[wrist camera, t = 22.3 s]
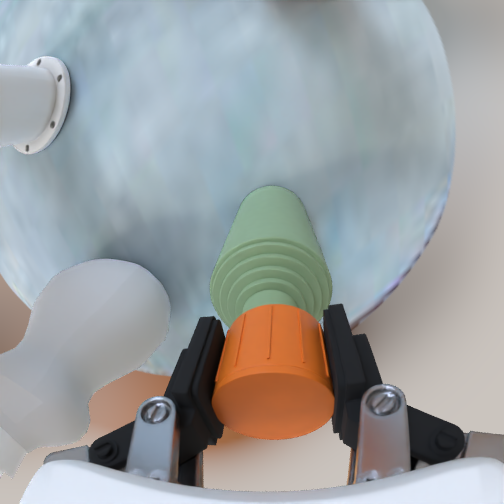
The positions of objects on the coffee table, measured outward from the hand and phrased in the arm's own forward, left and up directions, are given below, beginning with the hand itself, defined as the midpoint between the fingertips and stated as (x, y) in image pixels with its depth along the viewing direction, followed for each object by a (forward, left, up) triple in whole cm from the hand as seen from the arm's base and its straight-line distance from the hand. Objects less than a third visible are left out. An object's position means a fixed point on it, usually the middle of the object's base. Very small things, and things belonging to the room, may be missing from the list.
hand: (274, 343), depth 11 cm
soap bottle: (-20, -2, -17) cm, 26 cm away
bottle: (0, 0, -17) cm, 17 cm away
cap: (0, 0, 0) cm, 0 cm away
